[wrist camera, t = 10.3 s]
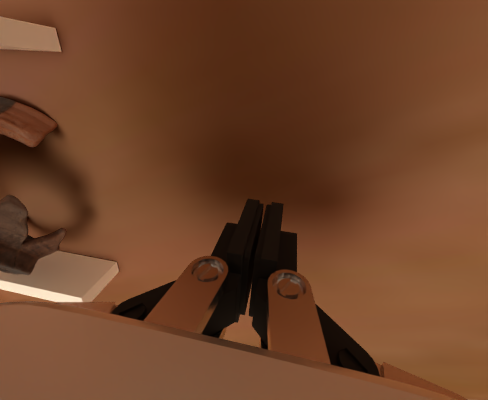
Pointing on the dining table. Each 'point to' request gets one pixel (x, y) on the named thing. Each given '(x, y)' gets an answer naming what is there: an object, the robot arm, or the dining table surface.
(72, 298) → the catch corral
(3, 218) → the pottery mug
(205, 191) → the dining table surface
